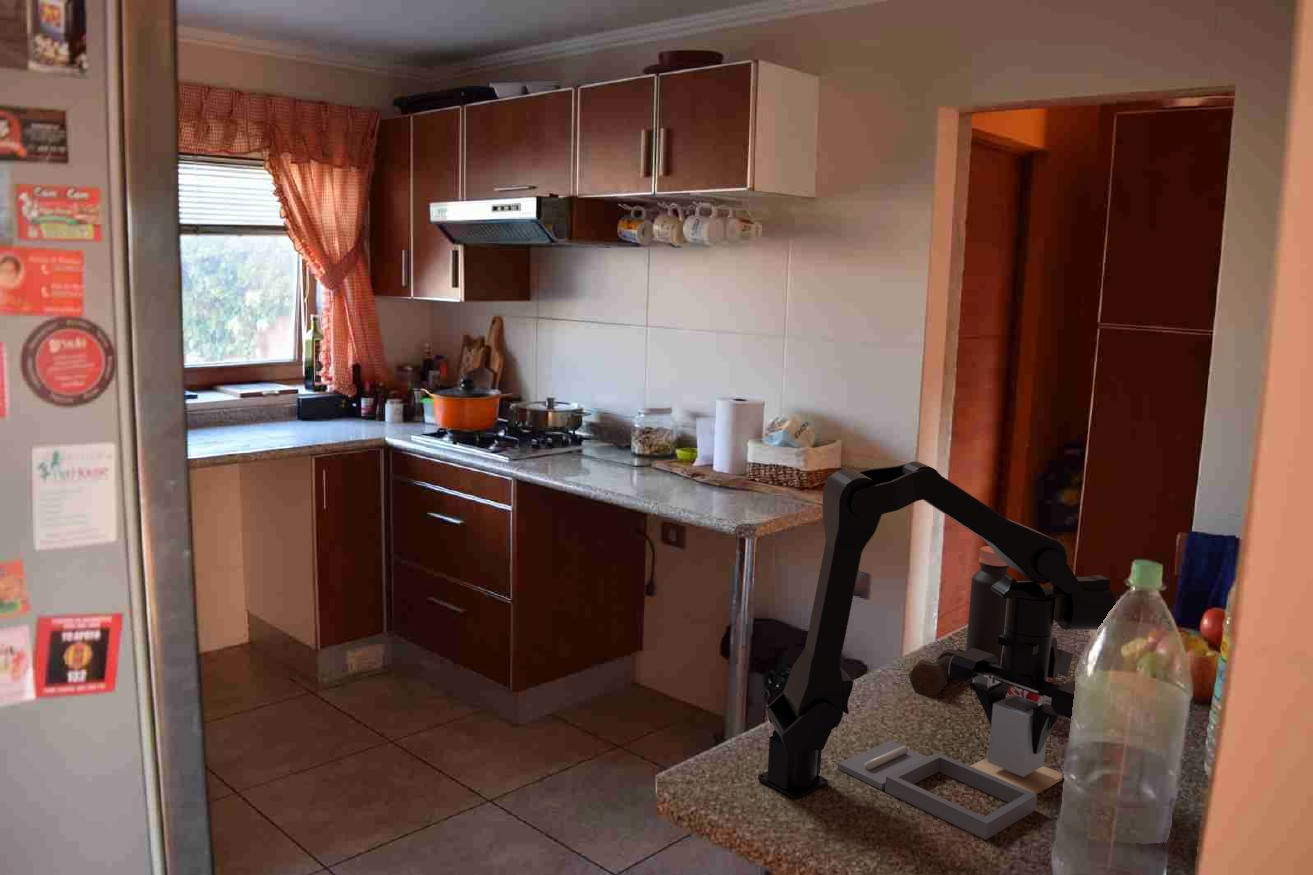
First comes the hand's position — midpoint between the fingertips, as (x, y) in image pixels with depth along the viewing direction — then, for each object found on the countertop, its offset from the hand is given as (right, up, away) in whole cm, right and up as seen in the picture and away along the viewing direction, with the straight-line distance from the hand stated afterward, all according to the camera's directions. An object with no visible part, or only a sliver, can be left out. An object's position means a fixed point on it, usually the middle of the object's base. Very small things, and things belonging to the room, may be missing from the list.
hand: (1017, 745), depth 131 cm
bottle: (+9, +1, +39) cm, 40 cm away
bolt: (0, 0, +32) cm, 32 cm away
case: (-12, -4, -4) cm, 13 cm away
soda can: (+8, -2, +20) cm, 22 cm away
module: (0, -3, 0) cm, 2 cm away
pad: (0, -4, +1) cm, 4 cm away
